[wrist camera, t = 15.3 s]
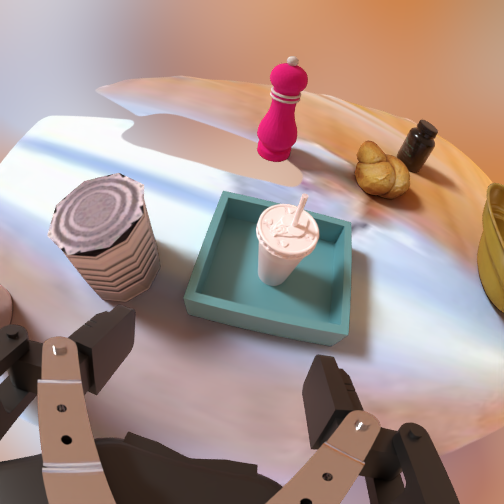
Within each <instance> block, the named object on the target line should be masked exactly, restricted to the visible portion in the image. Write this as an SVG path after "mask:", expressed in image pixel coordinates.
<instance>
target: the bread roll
mask: <svg viewBox="0 0 504 504" xmlns="http://www.w3.org/2000/svg"><path fill="white" fill-rule="evenodd" d="M357 159H358V161H359V162H358V163H357V165H356V170H355V172H354V173H355V176H356V180H357V182H358V184H359V186H360V187H361V188H362V189H363V190H364V191H365V192H366V193H369V194H372V195H379V196H381V197H384V198H388V199H394V198H396V197H398V196H401V195H402V194H403V193H405V192H406V191H407V190H408V189H409V187H410V174H409V172H408V169H407V167H406V166H405V164H404V163H403V162H402V161H401V160H399V159H398V158H396V157H394V156H392V155H385V153H384V152H383V151H382V150H381V149H380V148H379V147H378V145H377V144H376V143H374V142H372V141H365V142H364V143H363V144H362V145H361V147H360V149H359V151H358V153H357Z"/></svg>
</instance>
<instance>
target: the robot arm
mask: <svg viewBox="0 0 504 504" xmlns="http://www.w3.org/2000/svg"><path fill="white" fill-rule="evenodd" d="M12 308H13V306H12V299H11V296H10V294H9V292H8V291H7V290H6V289H5V288H4V287H3V286H2V285H1V284H0V376H1V375H2V374H3V373H4V372H5V371H8V374H9V376H8V377H7V378H6V379H5V380H4V381H3V382H2V383H1V384H0V440H1V439H2V437H3V436H4V435H5V434H6V432H7V431H8V430H9V428H10V427H11V426H12V424H13V423H14V422H15V421H16V420H17V418H18V417H19V416H20V415H21V413H22V412H23V411H24V410H25V409H26V407H27V406H28V405H29V404H30V402H31V401H32V400H33V399H34V398H35V397H36V395H37V394H38V419H39V431H40V442H41V450H42V454H38V455H34V456H29V457H24V458H19V459H14V460H8V461H2V462H0V504H340V503H341V501H342V500H343V498H344V497H345V495H346V494H347V492H348V491H349V489H350V488H351V486H352V485H353V483H354V481H355V480H356V478H357V477H358V475H360V476H365V479H366V484H367V489H368V494H369V498H370V504H460V503H459V501H458V498H457V496H456V493H455V491H454V488H453V486H452V484H451V481H450V479H449V477H448V475H447V472H446V470H445V468H444V466H443V464H442V462H441V459H440V457H439V455H438V453H437V451H436V449H435V447H434V444H433V442H432V440H431V438H430V436H429V434H428V433H427V431H426V430H425V429H424V428H423V427H422V426H420V425H418V424H415V423H405V424H403V425H402V426H401V427H400V428H399V430H398V431H394V430H390V429H385V428H382V427H381V426H380V423H379V421H378V419H377V418H376V417H375V416H373V415H372V414H370V413H368V412H365V411H364V410H363V408H362V405H361V403H360V400H359V398H358V396H357V393H356V392H355V388H354V386H353V383H352V381H351V379H350V376H349V375H348V374H347V373H346V372H345V371H344V370H343V369H339V368H338V366H337V363H336V361H335V358H334V357H331V356H324V355H316V356H315V358H314V360H313V363H312V365H311V367H310V370H309V372H308V375H307V377H306V379H305V382H304V385H303V390H302V395H303V401H304V407H305V414H306V420H307V426H308V433H309V440H310V446H311V449H318V450H317V452H316V453H315V454H314V455H313V456H312V457H311V458H310V460H309V461H308V462H307V463H306V464H305V465H304V466H303V467H302V468H301V469H300V470H299V471H298V472H297V474H296V475H295V476H294V477H293V478H292V479H291V480H290V481H289V482H288V483H287V484H286V485H285V486H284V487H282V486H281V485H280V484H278V483H277V482H275V481H273V480H272V479H270V478H268V477H265V476H263V475H261V474H258V473H257V465H255V464H248V463H242V462H236V461H230V460H218V459H192V458H188V457H186V456H184V455H181V454H179V453H178V452H176V451H174V450H172V449H170V448H168V447H166V446H164V445H162V444H161V443H159V442H156V441H153V440H150V439H147V438H144V437H141V436H139V435H136V434H133V433H131V432H128V433H127V435H126V437H125V439H121V438H98V439H94V438H93V434H92V430H91V426H90V422H89V417H88V413H87V408H86V403H85V398H84V395H85V394H86V392H87V391H88V392H91V393H93V394H95V395H98V393H99V392H100V391H101V389H102V388H103V387H104V385H105V384H106V383H107V381H108V380H109V379H110V378H111V376H112V375H113V374H114V372H115V371H116V370H117V368H118V367H119V366H120V365H121V363H122V362H123V361H124V359H125V358H126V357H127V356H128V354H129V353H130V352H131V350H132V347H133V344H134V335H135V316H136V314H135V310H134V309H131V308H128V307H125V306H122V305H117V306H116V307H115V308H114V309H113V310H111V311H110V312H107V311H105V312H102V313H99V314H96V315H95V316H94V317H93V318H91V319H90V321H88V322H87V323H85V325H83V326H82V327H80V328H79V329H78V330H77V331H75V332H74V333H73V334H72V335H71V336H69V337H68V338H66V337H52V338H50V339H48V340H46V341H45V342H44V344H43V343H39V342H35V341H31V340H29V338H28V333H27V330H26V329H25V328H24V327H22V326H19V325H10V321H11V317H12ZM402 471H403V473H404V476H405V480H406V487H405V488H404V484H403V482H402V478H401V475H400V473H401V472H402Z"/></svg>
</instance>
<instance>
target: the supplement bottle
mask: <svg viewBox="0 0 504 504" xmlns="http://www.w3.org/2000/svg"><path fill="white" fill-rule="evenodd" d="M437 133H438V131H437V129H436V128H435V127H434V126H433V125H432V124H430V123H429V122H427V121H425V120H420V122H419V124H418V125H417V128H412V129H411V130H410V131H409V133H408V135H407V137H406V139H405V141H404V143H403V145H402V146H401V148H400V150H399V152H398V154H397V158H398V159H399V160H401V161H402V162H403V163H404V164H405V166H406V167H407V169H408V170H409V171H411V172H419V171H420V169H421V168H422V166H423V165H424V163H425V162H426V160H427V158H428V157H429V155H430V153H431V152H432V150H433V149H434V147H435V142H434V138H435V137H436V135H437Z"/></svg>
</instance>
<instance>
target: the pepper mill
mask: <svg viewBox="0 0 504 504" xmlns="http://www.w3.org/2000/svg"><path fill="white" fill-rule="evenodd" d="M297 64H298V59H297V58H296V57H294V56H291V57H289V58H288V59H287V63H284V64H279V65H277V66H276V67H275V68H274V69H273V70H272V72H271V75H270V81H271V83H272V85H273V87H272V88H271V93H270V95H271V97H272V103H271V106H270V109H269V111H268V112H267V114H266V115H265V117H264V118H263V119H262V121H261V123H260V125H259V127H258V131H257V135H258V138H259V142H258V148H257V151H258V153H259V155H260V156H261V157H262V158H264V159H266V160H269V161H273V162H281V161H284V160H286V159H288V157H289V155H290V151H291V146H292V145H294V143H295V142H296V139H297V127H296V123H295V115H294V112H295V106H296V103H298V102H299V101H300V97H301V93H300V92H301V91H303V90H304V89H305V88H306V86H307V82H308V77H307V74H306V72H305V71H304V70H303V69H302V68H301V67H299V66H297Z"/></svg>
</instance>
